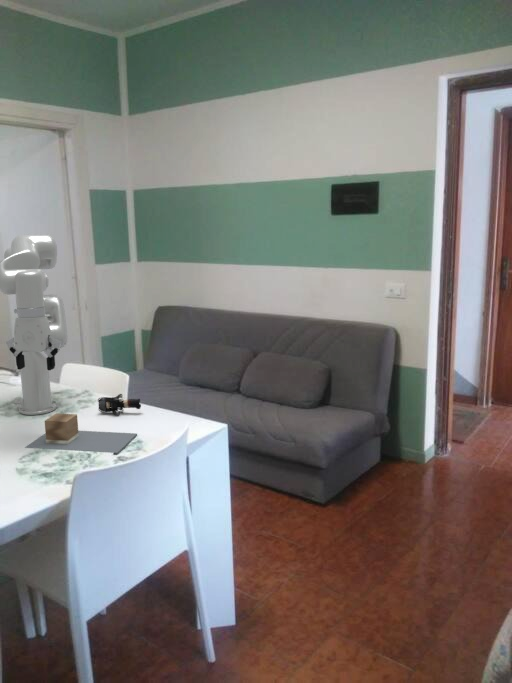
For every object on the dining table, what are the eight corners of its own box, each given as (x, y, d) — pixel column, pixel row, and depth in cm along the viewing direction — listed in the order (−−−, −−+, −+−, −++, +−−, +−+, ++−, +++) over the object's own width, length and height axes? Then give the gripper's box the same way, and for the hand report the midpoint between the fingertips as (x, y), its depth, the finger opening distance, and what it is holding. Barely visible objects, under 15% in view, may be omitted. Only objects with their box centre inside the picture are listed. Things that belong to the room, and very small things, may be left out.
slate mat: (24, 449, 170) (24, 447, 170) (51, 430, 186) (51, 429, 186) (117, 454, 166) (117, 452, 166) (137, 435, 181) (137, 433, 181)
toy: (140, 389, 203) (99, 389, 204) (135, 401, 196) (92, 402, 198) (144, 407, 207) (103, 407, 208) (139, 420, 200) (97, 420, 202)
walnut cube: (46, 442, 174) (44, 420, 172) (57, 434, 181) (56, 413, 179) (68, 443, 173) (66, 421, 171) (78, 435, 180) (77, 414, 178)
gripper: (-3, 314, 168) (2, 371, 172) (52, 315, 166) (56, 372, 169) (11, 311, 176) (16, 365, 179) (64, 311, 173) (68, 366, 176)
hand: (36, 368), depth 174 cm, fingers open, 9 cm apart
